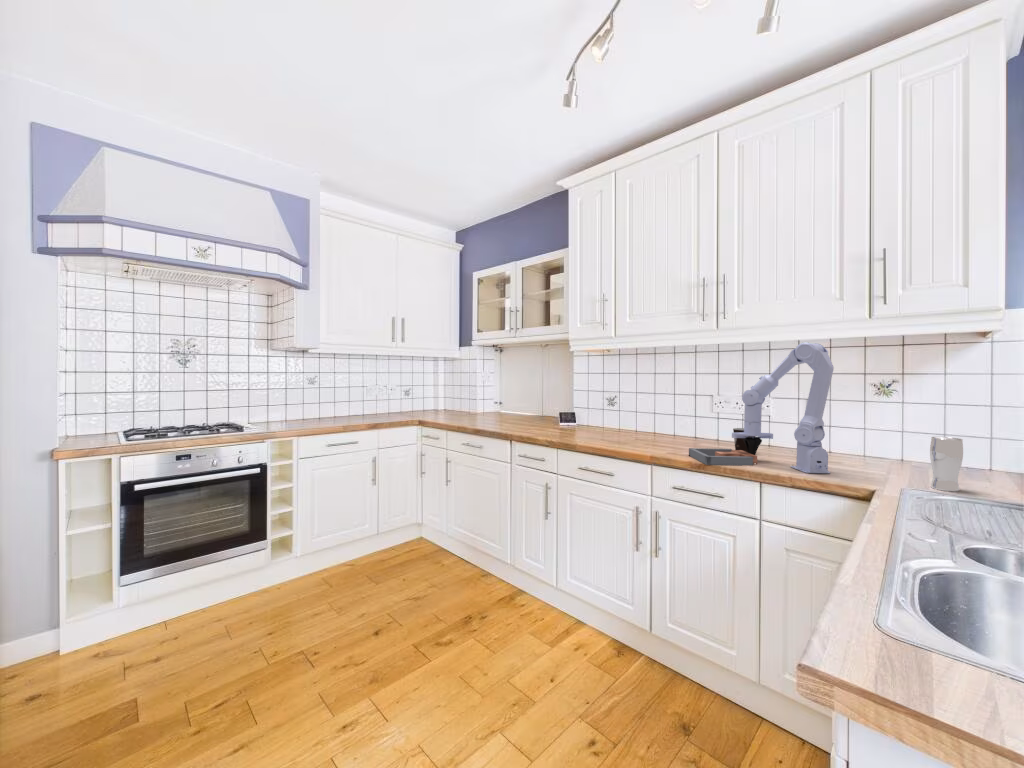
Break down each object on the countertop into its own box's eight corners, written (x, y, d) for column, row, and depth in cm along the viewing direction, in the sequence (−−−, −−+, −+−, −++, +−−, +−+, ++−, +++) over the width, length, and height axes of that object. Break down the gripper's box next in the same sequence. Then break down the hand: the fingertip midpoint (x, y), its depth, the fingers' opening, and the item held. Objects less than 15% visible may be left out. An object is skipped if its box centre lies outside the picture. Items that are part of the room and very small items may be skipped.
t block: (741, 457, 176) (741, 450, 176) (757, 464, 164) (757, 456, 164) (710, 457, 176) (710, 449, 176) (723, 463, 164) (724, 455, 164)
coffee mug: (753, 455, 181) (754, 431, 180) (730, 453, 186) (731, 429, 186) (758, 451, 190) (759, 428, 190) (736, 449, 195) (736, 426, 195)
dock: (752, 465, 161) (753, 457, 161) (706, 464, 162) (706, 456, 162) (730, 456, 179) (730, 448, 179) (688, 455, 180) (688, 448, 180)
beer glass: (934, 485, 135) (936, 435, 135) (965, 490, 129) (967, 439, 129) (924, 487, 132) (926, 437, 132) (956, 493, 126) (958, 440, 126)
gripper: (766, 420, 173) (765, 455, 174) (728, 420, 174) (727, 454, 174) (776, 422, 166) (775, 459, 167) (737, 422, 167) (736, 458, 167)
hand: (751, 457), depth 170 cm, fingers closed
